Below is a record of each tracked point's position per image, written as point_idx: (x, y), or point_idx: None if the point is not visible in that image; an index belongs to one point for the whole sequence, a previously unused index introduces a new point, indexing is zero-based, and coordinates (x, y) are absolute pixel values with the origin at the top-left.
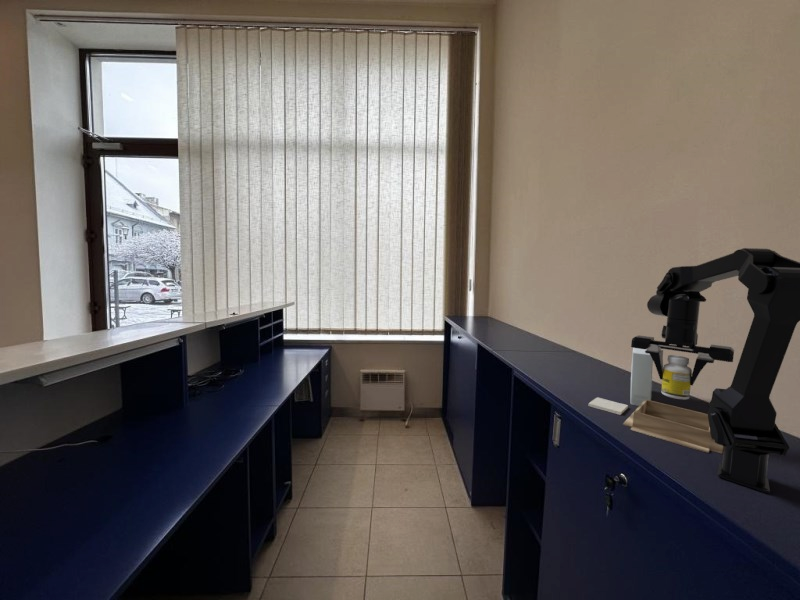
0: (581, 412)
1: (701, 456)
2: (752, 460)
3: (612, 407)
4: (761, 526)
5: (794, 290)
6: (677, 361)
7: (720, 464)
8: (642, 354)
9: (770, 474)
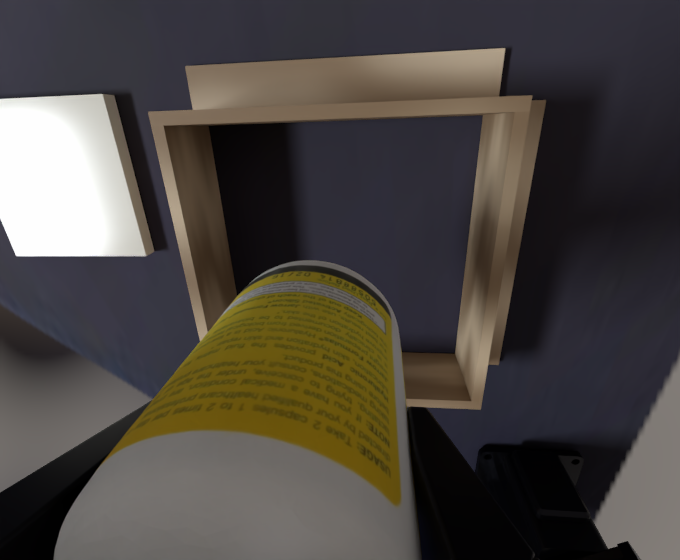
0: (73, 347)
1: (439, 421)
2: None
3: (92, 219)
4: None
5: None
6: None
7: (482, 464)
8: None
9: (602, 407)
